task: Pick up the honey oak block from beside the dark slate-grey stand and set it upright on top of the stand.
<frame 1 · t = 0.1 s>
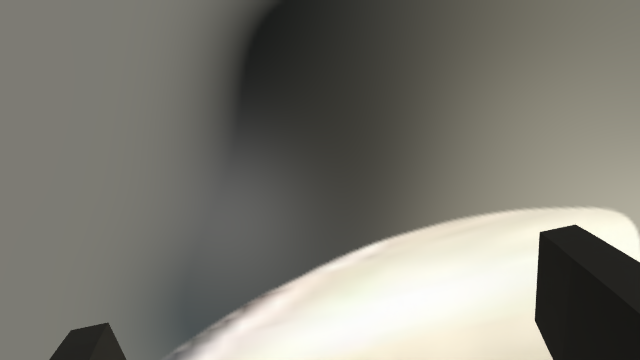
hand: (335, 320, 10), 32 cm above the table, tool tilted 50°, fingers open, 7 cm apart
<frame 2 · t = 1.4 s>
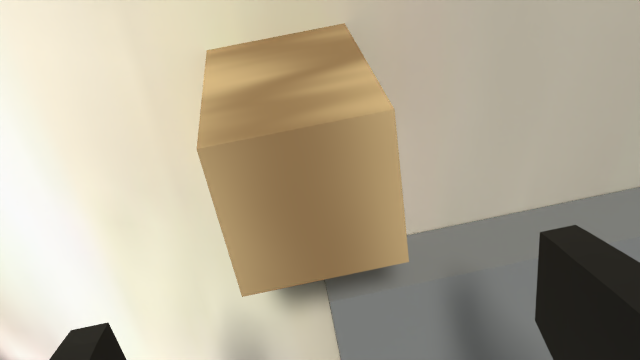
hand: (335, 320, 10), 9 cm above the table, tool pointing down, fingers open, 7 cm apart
slate stand: (483, 335, 24), on the table
oak block: (288, 100, 18), on the table
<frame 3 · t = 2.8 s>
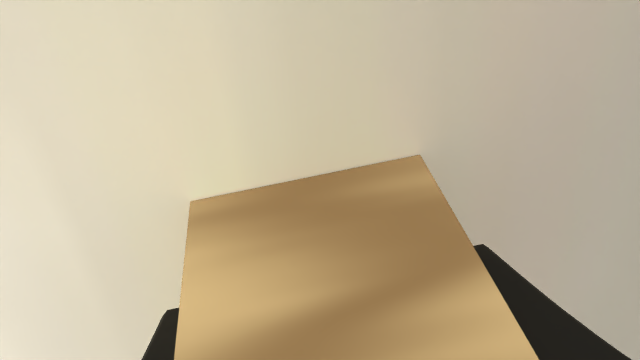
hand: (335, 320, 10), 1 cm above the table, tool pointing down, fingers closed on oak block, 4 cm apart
oak block: (323, 266, 11), on the table, touching gripper
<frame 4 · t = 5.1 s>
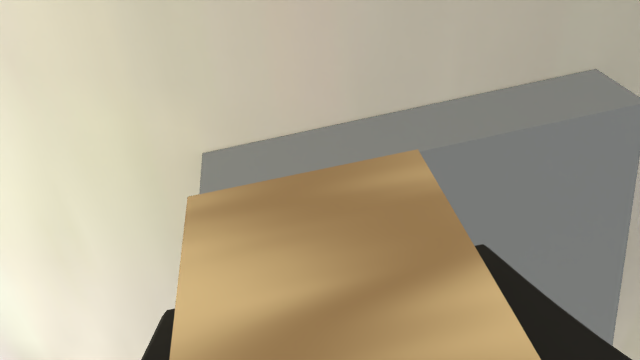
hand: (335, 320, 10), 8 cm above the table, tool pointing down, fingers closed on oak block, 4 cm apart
slate stand: (417, 263, 21), on the table
oak block: (321, 262, 11), point 7 cm above the table, touching gripper
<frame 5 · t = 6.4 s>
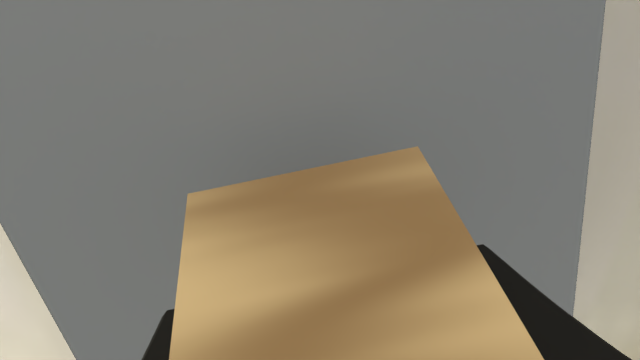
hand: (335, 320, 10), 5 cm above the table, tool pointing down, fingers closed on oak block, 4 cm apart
slate stand: (301, 162, 14), on the table
oak block: (321, 259, 11), point 4 cm above the table, touching gripper
when the fingers open (5 cm above the table, at t = 7.2 s): oak block drops 1 cm, resting on slate stand.
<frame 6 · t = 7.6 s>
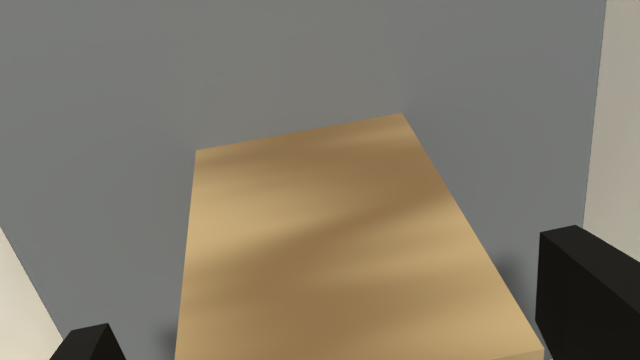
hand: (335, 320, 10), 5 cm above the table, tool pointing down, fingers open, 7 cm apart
slate stand: (301, 163, 14), on the table
oak block: (314, 215, 12), point 2 cm above the table, touching slate stand
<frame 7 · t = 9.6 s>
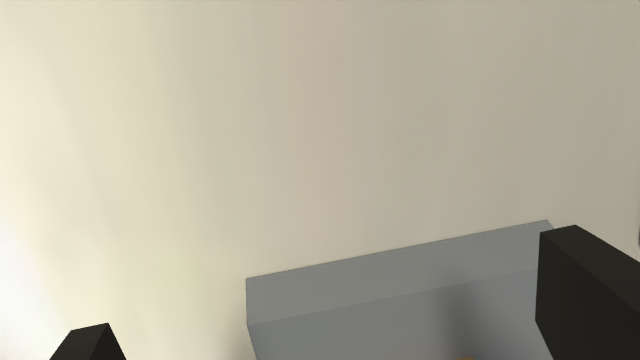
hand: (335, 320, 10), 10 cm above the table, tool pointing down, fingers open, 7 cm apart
slate stand: (407, 354, 26), on the table
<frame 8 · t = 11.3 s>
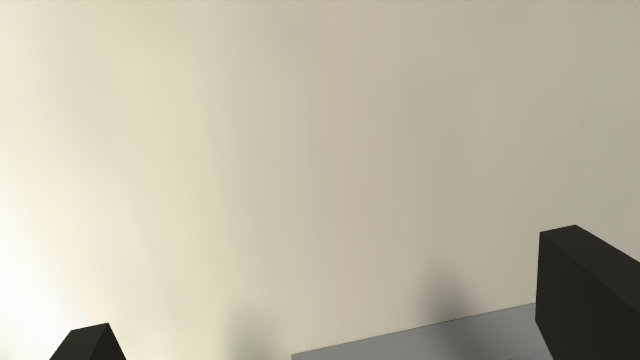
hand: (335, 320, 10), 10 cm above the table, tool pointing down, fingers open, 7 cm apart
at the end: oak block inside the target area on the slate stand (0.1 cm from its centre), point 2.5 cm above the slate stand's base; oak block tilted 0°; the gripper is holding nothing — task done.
